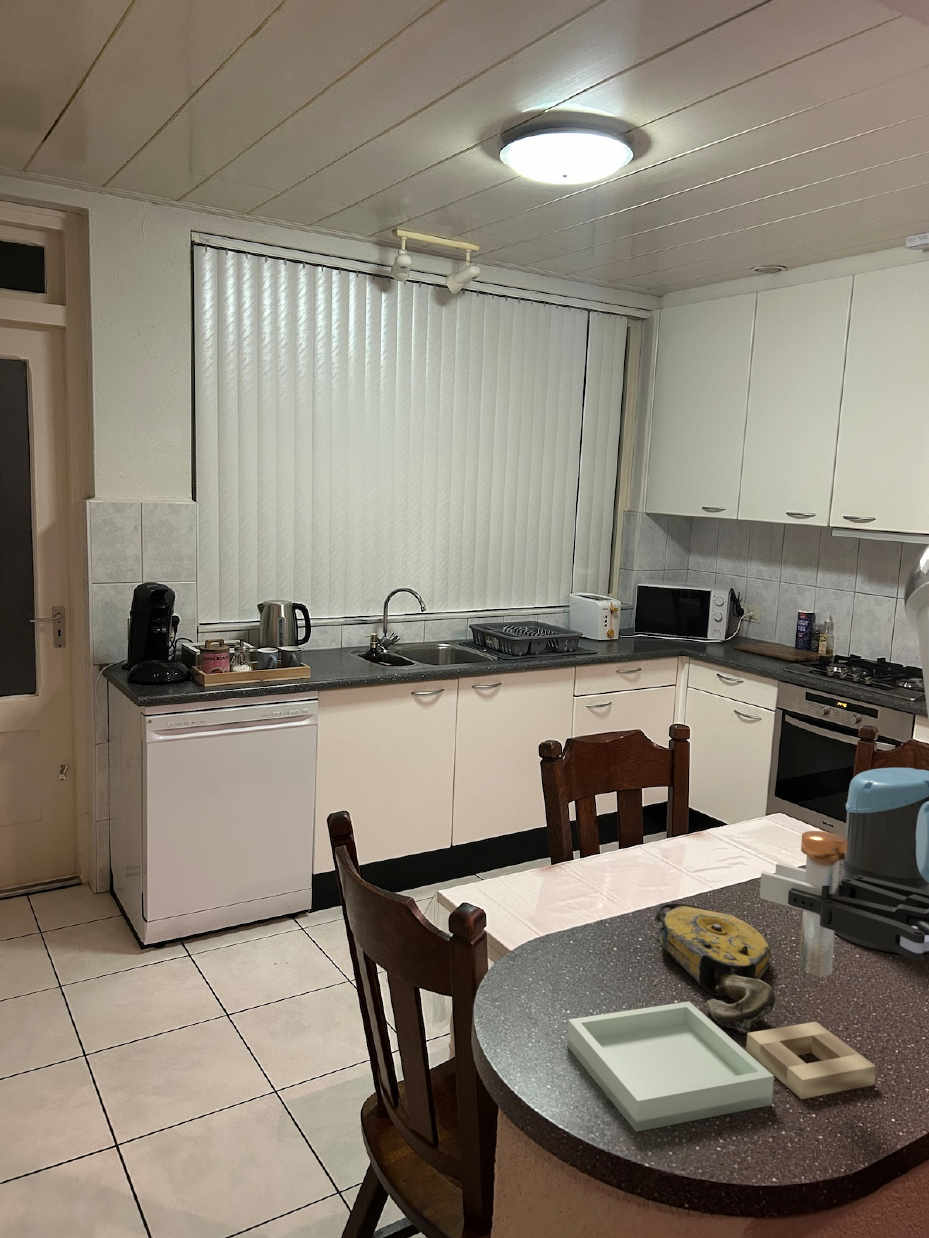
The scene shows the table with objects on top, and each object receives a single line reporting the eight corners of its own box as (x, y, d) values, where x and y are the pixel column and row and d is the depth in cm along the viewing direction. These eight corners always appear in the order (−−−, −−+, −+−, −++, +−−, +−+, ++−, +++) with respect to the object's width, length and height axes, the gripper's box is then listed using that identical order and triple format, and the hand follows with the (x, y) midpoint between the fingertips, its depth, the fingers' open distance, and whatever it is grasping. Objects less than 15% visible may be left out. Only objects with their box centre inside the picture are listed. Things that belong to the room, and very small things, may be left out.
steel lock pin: (818, 956, 99) (827, 829, 98) (847, 975, 95) (857, 843, 94) (784, 961, 98) (792, 832, 96) (812, 980, 93) (821, 846, 92)
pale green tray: (687, 1026, 104) (689, 1001, 104) (771, 1104, 90) (773, 1075, 90) (567, 1045, 100) (568, 1019, 99) (636, 1131, 86) (637, 1100, 85)
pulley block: (687, 980, 102) (656, 882, 132) (676, 1029, 103) (647, 920, 133) (815, 1009, 101) (755, 904, 131) (803, 1059, 102) (746, 942, 131)
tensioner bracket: (814, 1038, 103) (815, 1021, 103) (874, 1084, 94) (875, 1065, 94) (746, 1050, 100) (747, 1032, 100) (801, 1098, 92) (802, 1079, 91)
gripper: (995, 1022, 78) (734, 936, 93) (1033, 960, 90) (796, 893, 106) (1003, 936, 77) (738, 864, 93) (1040, 885, 90) (800, 829, 105)
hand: (769, 879), depth 99 cm, fingers closed on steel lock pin, 3 cm apart
